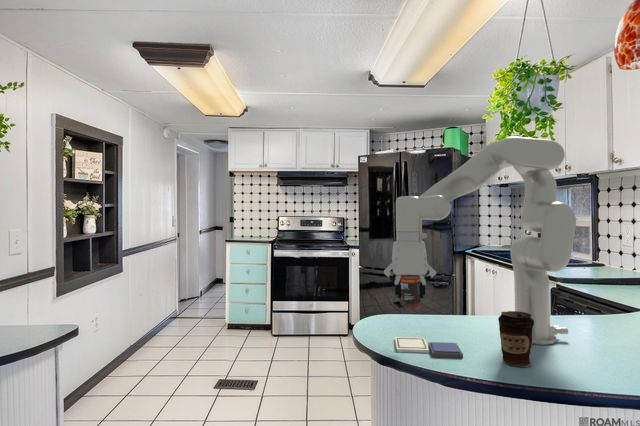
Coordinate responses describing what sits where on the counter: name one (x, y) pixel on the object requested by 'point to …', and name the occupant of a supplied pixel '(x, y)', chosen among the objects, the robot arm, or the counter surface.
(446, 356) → the ink pad
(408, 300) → the supplement bottle
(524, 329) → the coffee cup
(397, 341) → the board
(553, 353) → the counter surface
